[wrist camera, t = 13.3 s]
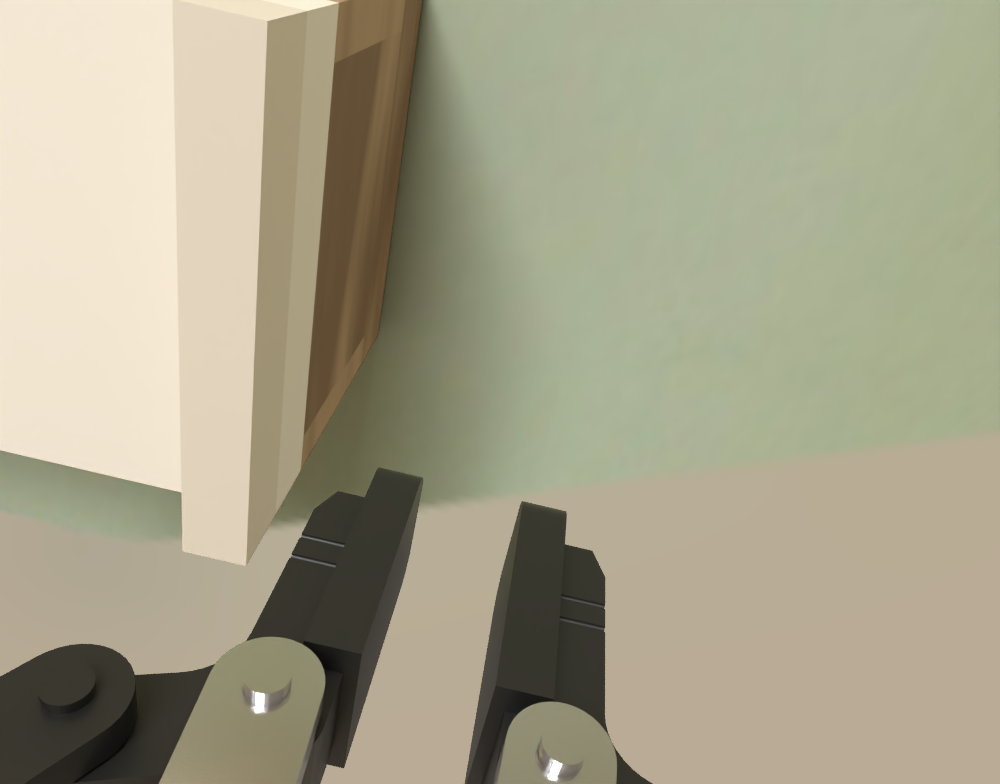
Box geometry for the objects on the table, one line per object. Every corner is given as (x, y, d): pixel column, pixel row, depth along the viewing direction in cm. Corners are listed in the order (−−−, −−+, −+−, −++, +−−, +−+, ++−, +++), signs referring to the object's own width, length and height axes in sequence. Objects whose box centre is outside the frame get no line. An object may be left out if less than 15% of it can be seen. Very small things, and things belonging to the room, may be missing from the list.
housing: (-175, 205, 30) (-441, 297, 23) (-275, -183, 24) (-693, -239, 16) (378, 334, 30) (300, 470, 23) (424, -20, 24) (338, 3, 16)
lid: (-70, 384, 23) (-192, 464, 19) (-177, -118, 16) (-386, -132, 13) (300, 470, 23) (245, 566, 19) (339, 2, 16) (267, 21, 13)
